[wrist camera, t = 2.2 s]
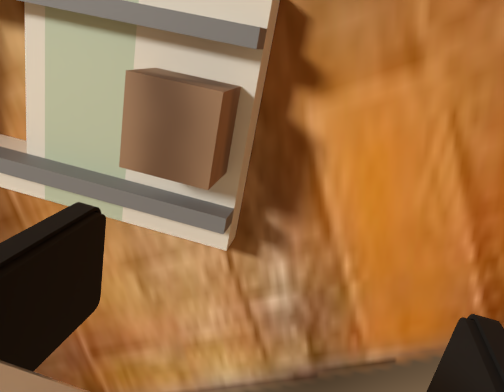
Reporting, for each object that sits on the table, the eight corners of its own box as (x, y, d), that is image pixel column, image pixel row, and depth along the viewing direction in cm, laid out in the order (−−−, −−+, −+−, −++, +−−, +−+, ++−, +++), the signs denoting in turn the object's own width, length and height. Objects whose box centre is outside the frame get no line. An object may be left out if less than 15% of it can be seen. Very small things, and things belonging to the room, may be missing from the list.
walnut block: (241, 86, 27) (223, 91, 23) (226, 172, 29) (208, 190, 26) (155, 67, 28) (125, 70, 24) (147, 152, 30) (119, 166, 27)
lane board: (281, -7, 27) (264, -20, 22) (235, 236, 34) (214, 270, 29) (-70, -71, 31) (-153, -95, 26) (-51, 158, 38) (-113, 174, 33)
